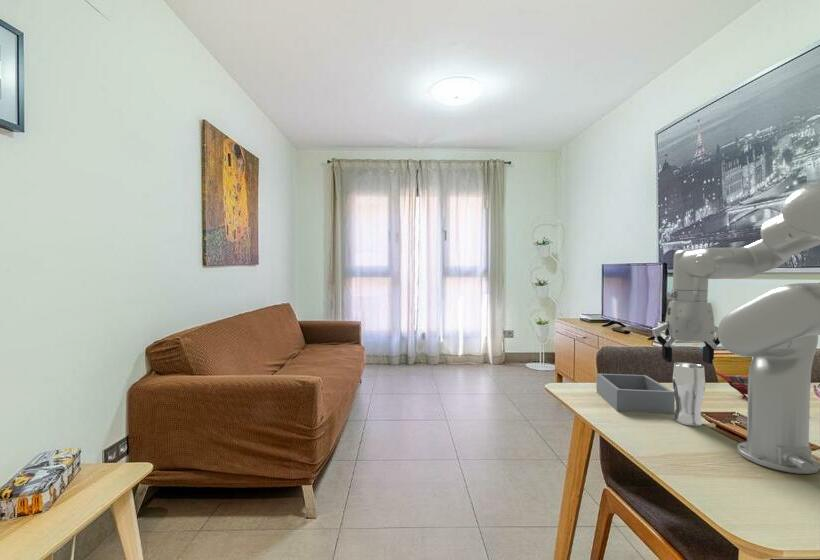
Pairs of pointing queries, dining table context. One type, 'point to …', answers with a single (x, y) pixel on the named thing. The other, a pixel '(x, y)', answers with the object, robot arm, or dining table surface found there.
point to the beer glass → (688, 392)
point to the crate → (635, 393)
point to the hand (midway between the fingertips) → (687, 361)
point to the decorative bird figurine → (737, 383)
